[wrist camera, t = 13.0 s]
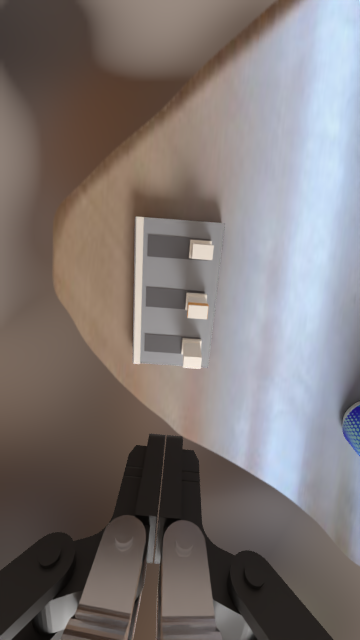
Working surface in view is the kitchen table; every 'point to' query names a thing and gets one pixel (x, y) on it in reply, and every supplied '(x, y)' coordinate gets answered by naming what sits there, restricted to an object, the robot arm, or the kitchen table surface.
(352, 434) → the beer can
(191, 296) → the breaker toggle
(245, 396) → the kitchen table surface
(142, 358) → the breaker panel
